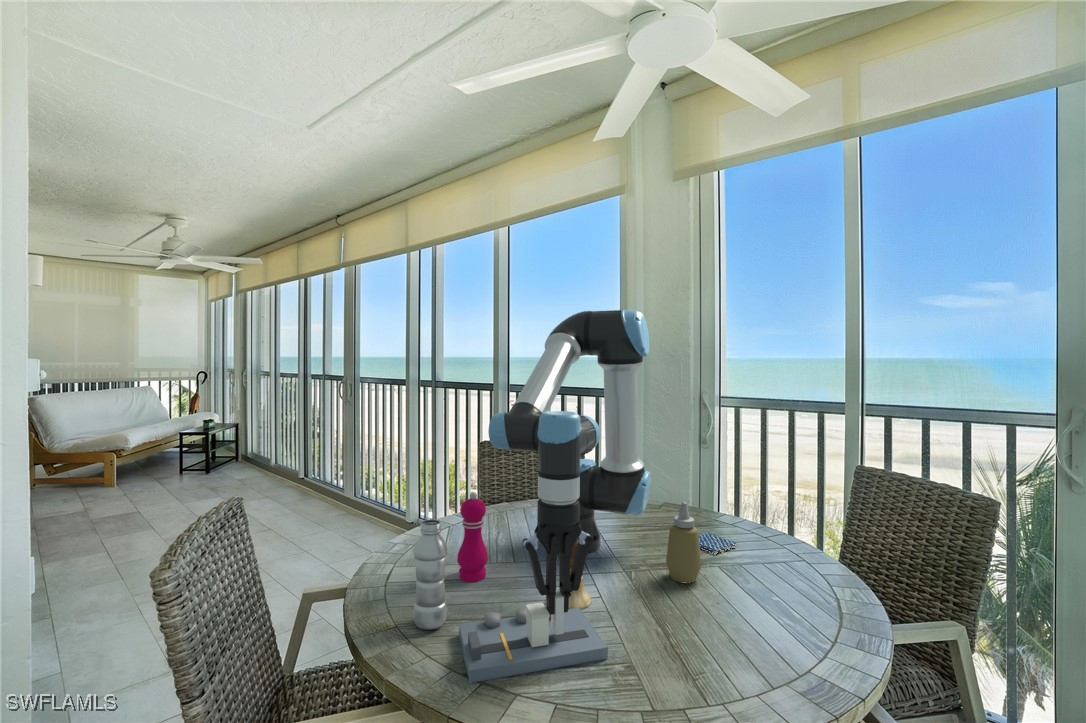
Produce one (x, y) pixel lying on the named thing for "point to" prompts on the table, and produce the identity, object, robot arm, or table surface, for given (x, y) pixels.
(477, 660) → the console board
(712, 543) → the woven mat
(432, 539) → the plastic bottle
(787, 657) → the table surface
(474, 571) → the pepper mill
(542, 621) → the fader tab
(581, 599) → the hand bell
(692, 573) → the squeeze bottle
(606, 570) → the table surface
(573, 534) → the robot arm
